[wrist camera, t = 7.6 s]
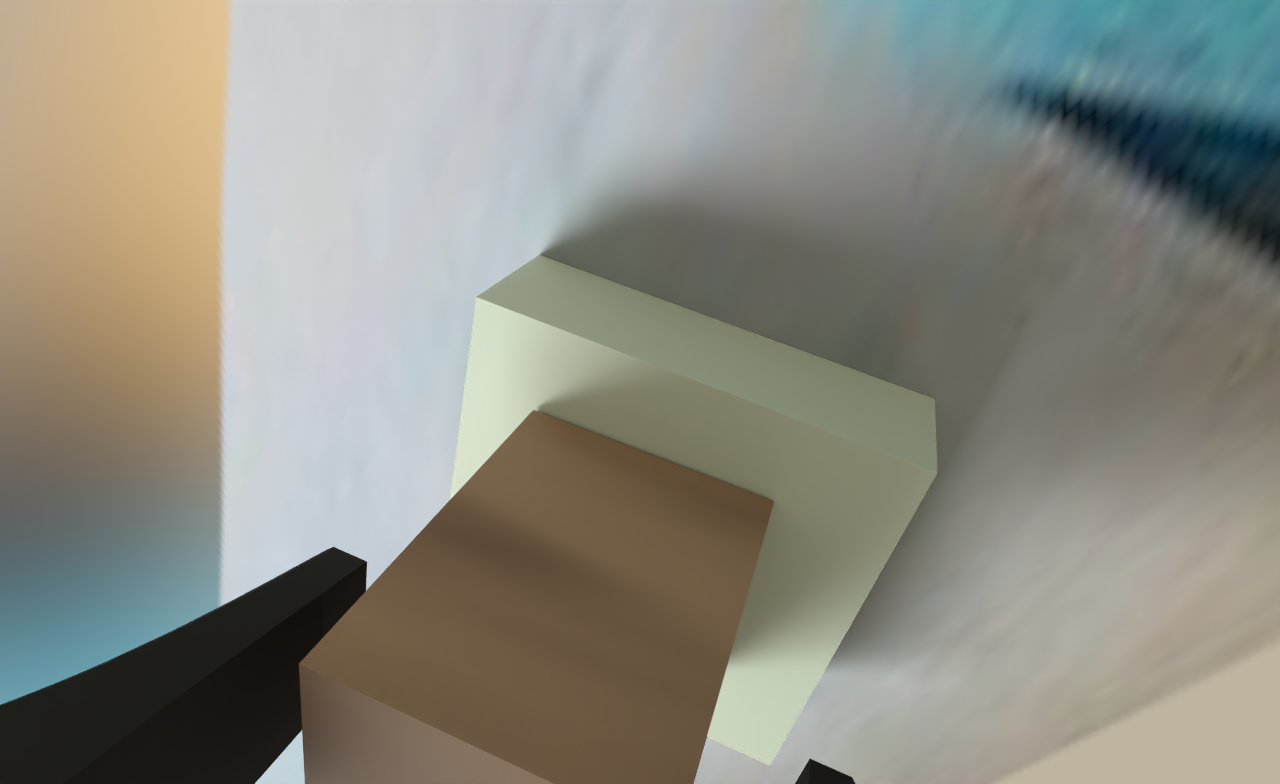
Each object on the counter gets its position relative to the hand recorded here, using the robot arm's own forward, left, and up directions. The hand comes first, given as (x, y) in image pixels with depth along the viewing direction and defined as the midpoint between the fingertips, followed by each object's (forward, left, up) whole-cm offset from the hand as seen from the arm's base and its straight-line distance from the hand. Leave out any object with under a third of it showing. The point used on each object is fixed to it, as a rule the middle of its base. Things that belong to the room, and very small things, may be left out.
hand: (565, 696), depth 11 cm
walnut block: (0, 0, -3) cm, 3 cm away
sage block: (0, 0, -6) cm, 6 cm away
